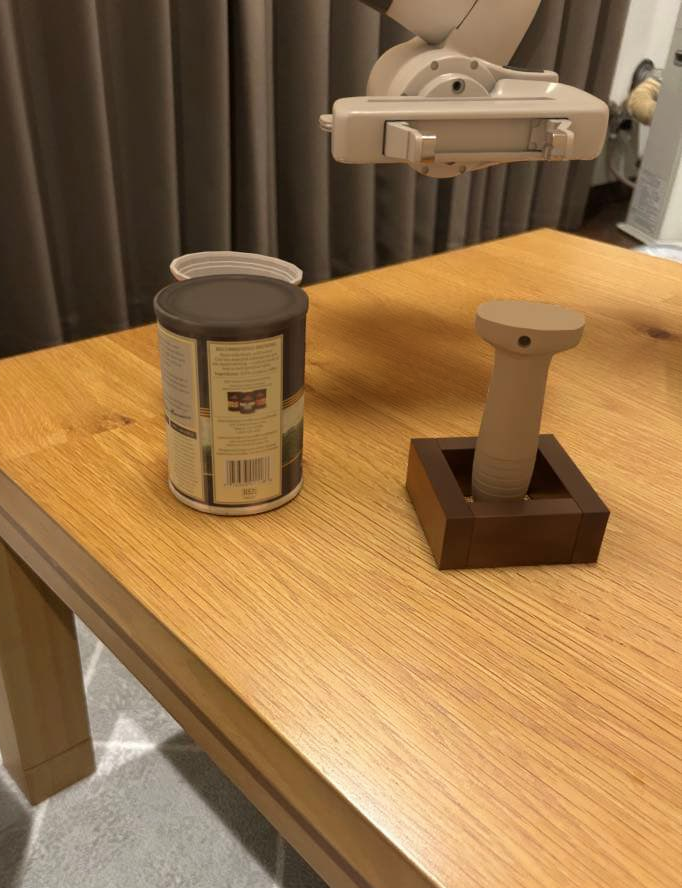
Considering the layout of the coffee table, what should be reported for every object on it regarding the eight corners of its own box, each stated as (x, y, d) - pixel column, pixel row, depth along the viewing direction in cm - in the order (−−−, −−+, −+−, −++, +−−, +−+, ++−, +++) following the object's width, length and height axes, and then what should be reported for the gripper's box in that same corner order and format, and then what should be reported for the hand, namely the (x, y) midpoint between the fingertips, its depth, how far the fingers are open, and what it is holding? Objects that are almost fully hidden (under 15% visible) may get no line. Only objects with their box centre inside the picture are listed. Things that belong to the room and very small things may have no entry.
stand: (542, 480, 66) (552, 433, 63) (596, 562, 57) (610, 511, 55) (405, 485, 65) (410, 438, 63) (439, 569, 56) (446, 518, 54)
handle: (536, 548, 58) (583, 335, 50) (441, 530, 60) (471, 321, 51) (542, 511, 62) (587, 308, 53) (453, 496, 64) (482, 295, 55)
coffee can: (248, 435, 71) (246, 263, 63) (331, 486, 65) (341, 301, 57) (140, 473, 66) (123, 291, 58) (219, 533, 59) (212, 337, 51)
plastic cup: (323, 409, 75) (329, 271, 68) (212, 438, 71) (207, 294, 64) (261, 365, 83) (261, 238, 76) (158, 389, 78) (148, 255, 72)
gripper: (316, 72, 67) (343, 98, 56) (572, 70, 68) (649, 94, 57) (314, 160, 71) (339, 201, 59) (558, 155, 72) (627, 195, 61)
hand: (494, 149), depth 58 cm, fingers open, 8 cm apart
